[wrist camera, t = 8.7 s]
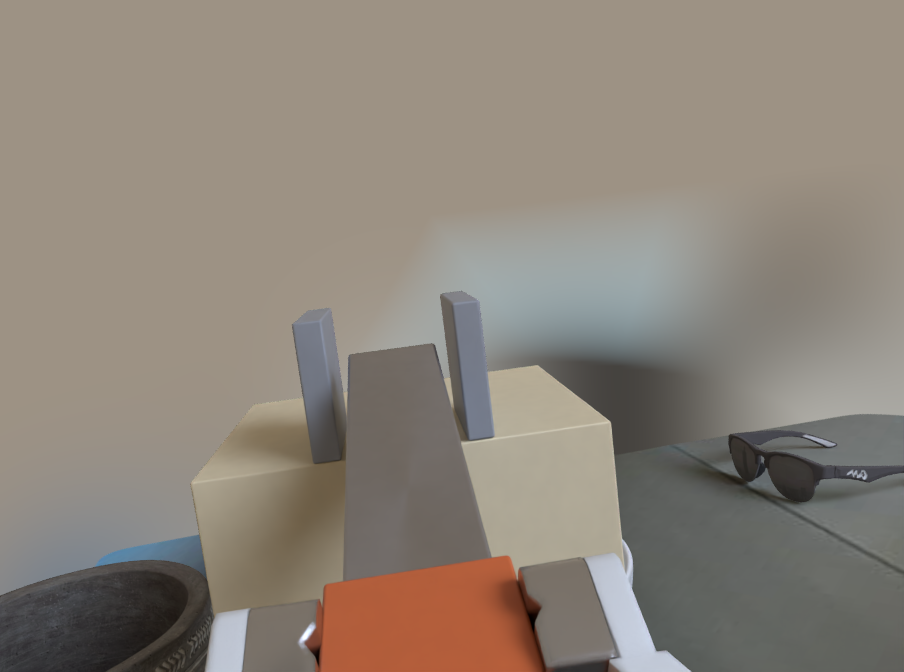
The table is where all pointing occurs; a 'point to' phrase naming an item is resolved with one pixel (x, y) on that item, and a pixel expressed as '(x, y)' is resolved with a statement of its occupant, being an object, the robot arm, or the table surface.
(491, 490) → the lever stand
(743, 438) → the sunglasses
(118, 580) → the planter
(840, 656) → the table surface
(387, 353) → the lever
